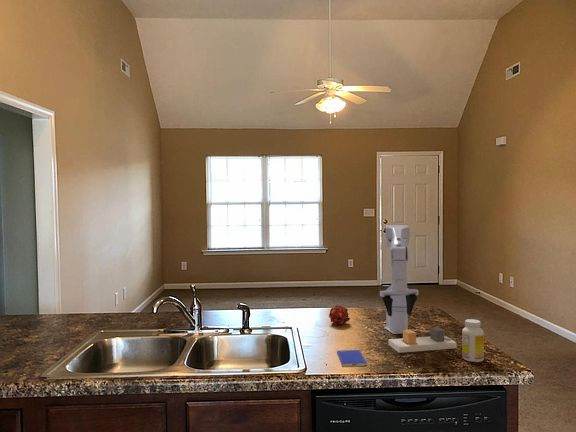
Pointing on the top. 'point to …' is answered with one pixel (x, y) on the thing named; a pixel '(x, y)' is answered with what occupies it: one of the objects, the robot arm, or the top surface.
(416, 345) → the white insertion base
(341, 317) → the dragon fruit
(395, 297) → the robot arm
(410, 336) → the orange rectangular block
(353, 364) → the hard drive
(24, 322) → the top surface
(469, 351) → the supplement bottle
